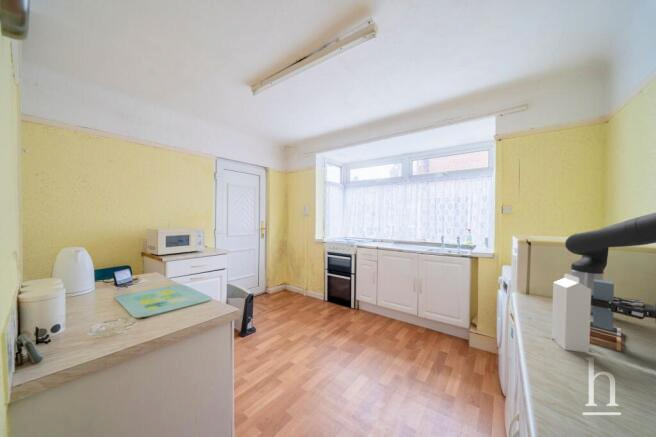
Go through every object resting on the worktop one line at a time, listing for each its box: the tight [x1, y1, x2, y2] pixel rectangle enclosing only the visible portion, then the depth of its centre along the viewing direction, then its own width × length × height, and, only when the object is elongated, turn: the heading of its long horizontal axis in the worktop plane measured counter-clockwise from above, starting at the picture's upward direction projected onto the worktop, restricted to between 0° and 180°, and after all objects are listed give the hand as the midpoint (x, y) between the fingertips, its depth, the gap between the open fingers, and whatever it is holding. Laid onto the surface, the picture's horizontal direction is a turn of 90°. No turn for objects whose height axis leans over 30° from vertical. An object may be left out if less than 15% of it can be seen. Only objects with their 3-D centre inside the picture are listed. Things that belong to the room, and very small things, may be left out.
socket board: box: [589, 320, 626, 354], centre depth 77 cm, size 19×9×2 cm, turn 129°
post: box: [592, 279, 615, 330], centre depth 74 cm, size 4×4×14 cm
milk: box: [551, 273, 591, 353], centre depth 73 cm, size 6×6×22 cm
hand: (590, 299), depth 76 cm, fingers closed on post, 4 cm apart
